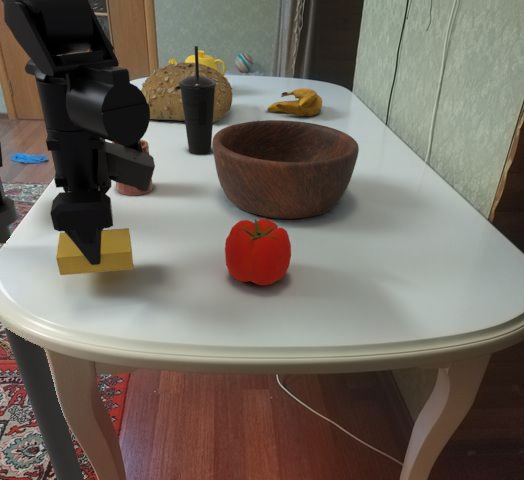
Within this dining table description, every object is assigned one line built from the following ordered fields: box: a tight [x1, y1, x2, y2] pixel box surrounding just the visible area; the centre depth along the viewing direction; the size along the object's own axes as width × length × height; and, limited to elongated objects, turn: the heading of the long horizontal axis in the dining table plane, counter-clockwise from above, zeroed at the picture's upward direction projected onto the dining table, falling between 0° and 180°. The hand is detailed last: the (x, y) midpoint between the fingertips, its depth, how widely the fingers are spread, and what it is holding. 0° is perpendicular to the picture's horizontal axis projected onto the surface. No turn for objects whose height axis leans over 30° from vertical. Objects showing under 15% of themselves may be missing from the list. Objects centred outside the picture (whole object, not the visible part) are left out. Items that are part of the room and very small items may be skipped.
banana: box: [267, 87, 323, 117], centre depth 139 cm, size 15×19×6 cm
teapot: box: [167, 50, 229, 82], centre depth 151 cm, size 14×14×11 cm
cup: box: [111, 139, 153, 196], centre depth 91 cm, size 6×6×8 cm
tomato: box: [224, 218, 292, 286], centre depth 68 cm, size 9×9×8 cm
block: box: [55, 227, 135, 276], centre depth 66 cm, size 9×7×2 cm
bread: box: [140, 61, 234, 123], centre depth 131 cm, size 24×21×12 cm
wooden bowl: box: [211, 119, 360, 220], centre depth 89 cm, size 25×25×10 cm
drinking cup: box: [179, 45, 216, 156], centre depth 105 cm, size 8×8×20 cm
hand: (96, 250), depth 66 cm, fingers closed on block, 7 cm apart
